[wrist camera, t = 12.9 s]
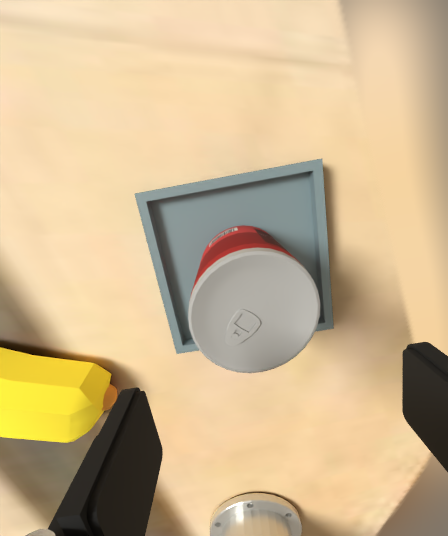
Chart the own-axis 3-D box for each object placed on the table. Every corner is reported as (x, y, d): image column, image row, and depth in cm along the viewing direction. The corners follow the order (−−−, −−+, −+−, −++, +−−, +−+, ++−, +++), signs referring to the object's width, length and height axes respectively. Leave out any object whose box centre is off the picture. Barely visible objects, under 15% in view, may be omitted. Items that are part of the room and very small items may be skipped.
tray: (326, 319, 29) (333, 328, 27) (179, 343, 29) (176, 353, 27) (314, 160, 24) (322, 158, 22) (141, 193, 25) (134, 193, 23)
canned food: (190, 289, 27) (171, 356, 16) (216, 212, 24) (212, 229, 14) (262, 311, 27) (289, 388, 17) (293, 238, 25) (345, 274, 15)
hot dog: (-41, 328, 29) (-37, 386, 31) (-116, 368, 22) (-105, 438, 24) (127, 359, 30) (119, 413, 32) (101, 405, 24) (94, 469, 26)
